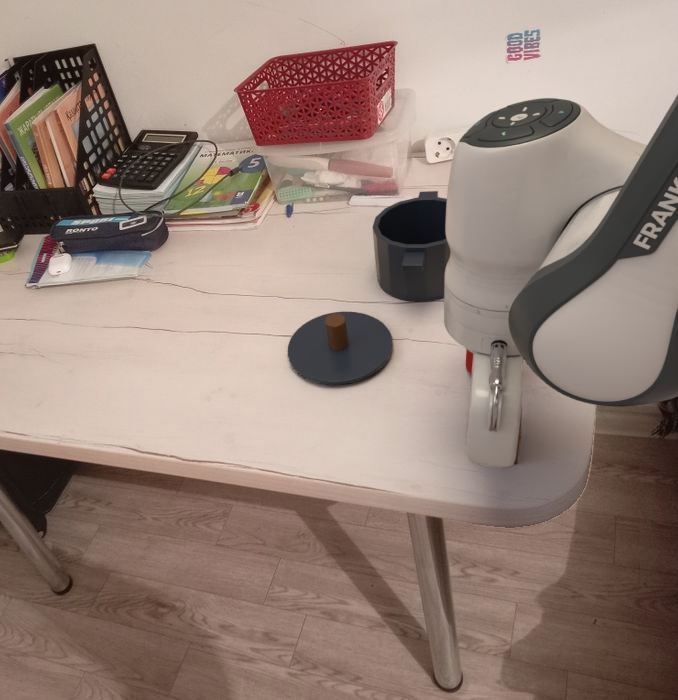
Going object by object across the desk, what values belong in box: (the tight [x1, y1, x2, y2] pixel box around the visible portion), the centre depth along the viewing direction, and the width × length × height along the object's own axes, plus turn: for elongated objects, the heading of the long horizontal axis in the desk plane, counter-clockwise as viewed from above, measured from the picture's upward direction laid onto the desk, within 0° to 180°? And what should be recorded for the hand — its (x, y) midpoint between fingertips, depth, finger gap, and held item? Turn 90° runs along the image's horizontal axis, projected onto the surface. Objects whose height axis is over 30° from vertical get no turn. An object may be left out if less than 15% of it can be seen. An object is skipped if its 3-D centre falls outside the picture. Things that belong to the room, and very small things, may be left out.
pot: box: [372, 190, 450, 303], centre depth 82 cm, size 12×17×8 cm
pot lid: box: [287, 311, 394, 385], centre depth 76 cm, size 13×13×5 cm
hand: (490, 416), depth 59 cm, fingers open, 8 cm apart
